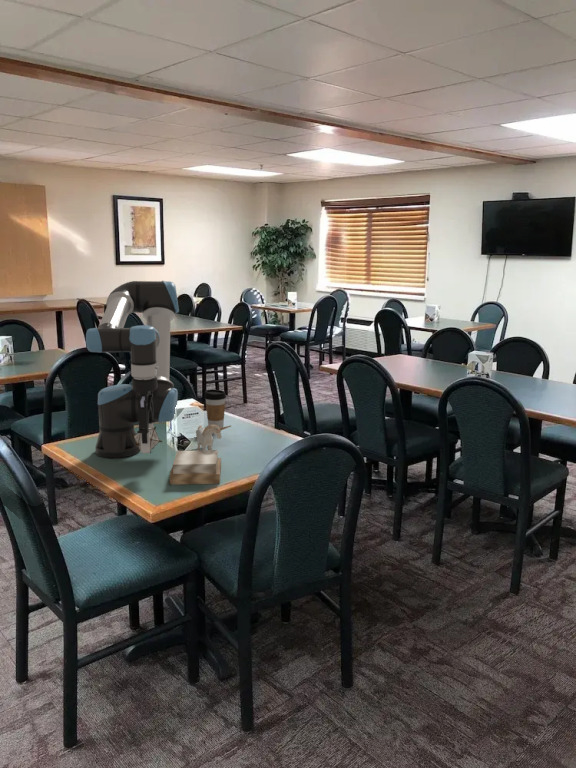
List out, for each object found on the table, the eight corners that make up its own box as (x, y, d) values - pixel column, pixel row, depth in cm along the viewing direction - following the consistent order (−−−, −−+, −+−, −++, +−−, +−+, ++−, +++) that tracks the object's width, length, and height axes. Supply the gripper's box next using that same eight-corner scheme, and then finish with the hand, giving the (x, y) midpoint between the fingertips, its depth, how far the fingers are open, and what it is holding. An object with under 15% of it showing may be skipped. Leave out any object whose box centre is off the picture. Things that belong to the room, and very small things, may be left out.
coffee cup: (210, 424, 252) (209, 388, 249) (229, 425, 250) (229, 389, 247) (201, 429, 245) (201, 392, 241) (222, 431, 242) (221, 394, 239)
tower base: (169, 484, 188) (169, 465, 186) (174, 467, 202) (174, 449, 201) (219, 483, 189) (219, 464, 187) (221, 466, 203) (220, 449, 202)
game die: (143, 461, 196) (135, 432, 199) (168, 451, 196) (160, 423, 199) (132, 455, 188) (124, 425, 191) (158, 445, 187) (150, 415, 191)
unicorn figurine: (213, 468, 201) (212, 429, 199) (184, 453, 217) (183, 416, 214) (232, 464, 206) (231, 425, 203) (202, 449, 221) (202, 413, 218)
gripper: (152, 385, 179) (155, 459, 184) (161, 369, 199) (163, 436, 204) (125, 385, 178) (129, 459, 184) (137, 369, 198) (140, 437, 204)
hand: (147, 447), depth 194 cm, fingers closed on game die, 8 cm apart
